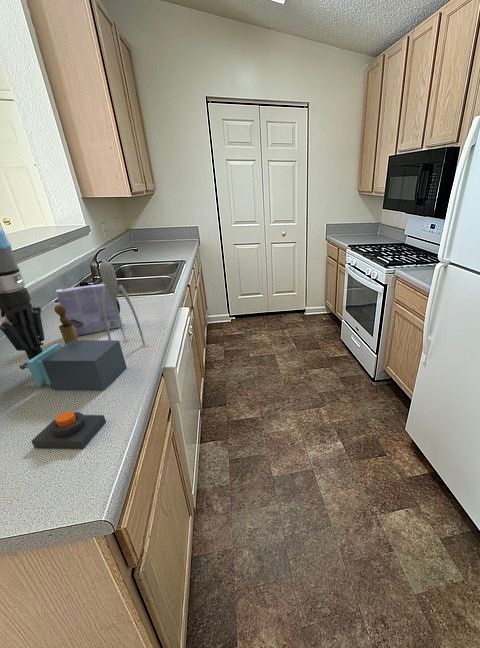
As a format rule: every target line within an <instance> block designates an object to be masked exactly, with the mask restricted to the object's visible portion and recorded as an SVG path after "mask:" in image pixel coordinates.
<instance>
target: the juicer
mask: <svg viewBox="0 0 480 648" xmlns="http://www.w3.org/2000/svg"><path fill="white" fill-rule="evenodd" d="M98 267H99V268H98V269H99V274H100V278H101V280H102V284H104V285H105V287H106V289H105V288H102V308H103V315H104V321H105V326H106V330H105V331H106V335H107V337H108V340H112V338H111V333H110V329H109V327H108V322H107V316H106V293H109V294H110V296H111V297H112V300H113V304H114V307H115V310H116V314H117V317H118V320H119V323H120V330H121V333H122V336H123V339H124V341H126V336H125V332H124V328H123V323H122V324H121V322H122V319H120V318H121V315H120V314H119V311H118V307H117V302H116V301H117V299H118V292H121V293H122V295H123V297H124V299H125V300H126V302H127V304H128V306H129V308H130V310H131V311H132V312H131V313H132V314H133V317H134V320H135V322H136V325H137V328H138V331H139V335H140V339H141V341H142V345H143V346H145V345H146V343H145V340H144V339H145V338H144V335H143V332H142V327H141V324H140V322H139V318H138V315H137V313H136V311H135V308H134V305H133V303H132V301H131V299H130V297H129V295H128V293H127V291H126V290H125V288H124V287H123V285H122V284H119V285H118V280H117V275H116V271H115V269H114V268H115V267H114V266H113V265H112V264H111V262H109V261H107V260H103V261H101V262H100V264H99V266H98Z"/></svg>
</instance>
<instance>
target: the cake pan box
mask: <svg viewBox="0 0 480 648" xmlns="http://www.w3.org/2000/svg"><path fill="white" fill-rule="evenodd" d="M102 288H105V289H106V287H105V285H104V283H100V284H92V285H83V286H82V285H81V286H76V287H70V288H67V287H66V288H60V289H59V288H58V289H56V290H55V294H56V297H57V300H58V303H59V304H58V305H63V306H65V308H66V312H65V316H66V317H68V323H73V325H74V328H75V331H76V334H77V337H79V336H84V335H89V334H90V335H91V334H95V333H100V332H101V333H102V332H104V331H107V330H106V326H105V321H104V315H103V308H102ZM116 302H117V307H118V311H119V315H120V314H121V305H120V302H119V299H118V298H117V301H116ZM106 316H107V322H108V327H109V330H115V329H118V328H120V329H121V327H120V323H119V320H118V317H117V314H116V310H115V307H114V304H113V300H112V297H111V296H110V294H109V293H106ZM120 319H121V317H120ZM121 320H122V319H121ZM121 324H122V325H123V322H122V321H121Z"/></svg>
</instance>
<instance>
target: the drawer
mask: <svg viewBox="0 0 480 648" xmlns="http://www.w3.org/2000/svg"><path fill="white" fill-rule="evenodd" d="M64 345H65V344H64ZM64 345H63V344H62V345H60V343H54V344H52V345H51V346H49V347H48V348H46V349H44V350H42V351H43V352H42V353H40V354H38V355H37V356H35V357H34V358H32V359H31V360H29V359H27V360H26V361H25V362H23V363H21V364H19V366H18V367H19V369H20V370H25V369H28V370H29V373H30V375H31V377H32V380H33V381H34V384H35V386H36V387H42V386H43V385H44V384H46V385H51V382H50V380H49V377H48V375H47V373H46V370H45V368H44V365H43V363H42V360H43V359H45V358H46V357H48V356H49V355H51V354H52V353H54V352H55V351H57V350H58V349H60V348H61V347H63V346H64Z"/></svg>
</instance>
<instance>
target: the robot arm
mask: <svg viewBox="0 0 480 648" xmlns="http://www.w3.org/2000/svg"><path fill="white" fill-rule="evenodd" d="M25 286H26V283H25V280H24V279H23V276H22V272H21V271H20V267H19V266H18V263H17V261H16V258H15V255H14V252H13V249H12V244H11V243H10V242H9V240H8V237H7V235H6V233H5V231H4V230H3V229H2V228H0V317H1V319H0V331H2V333H3V334H4V335H5V337H6V338H7V339H8V340H9V342H10V343H11V345H12V346H13V347H14V349H15V350H16V351H17V352H18V351H19V352H25V355H26V356H27V360H31V359H32V358H34V357H35V356H37V355H38V354H40V353H42V352H43V351H44V350H43V349H42V347H43V345H44V341H45V334H44V327H43V322H42V321H43V320H42V315H41V314H42V308H41V307H40V306H34V305H33V304H32V303H31V300H32V298H31V296H30V293H29V291H28V288H26V287H25Z"/></svg>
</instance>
